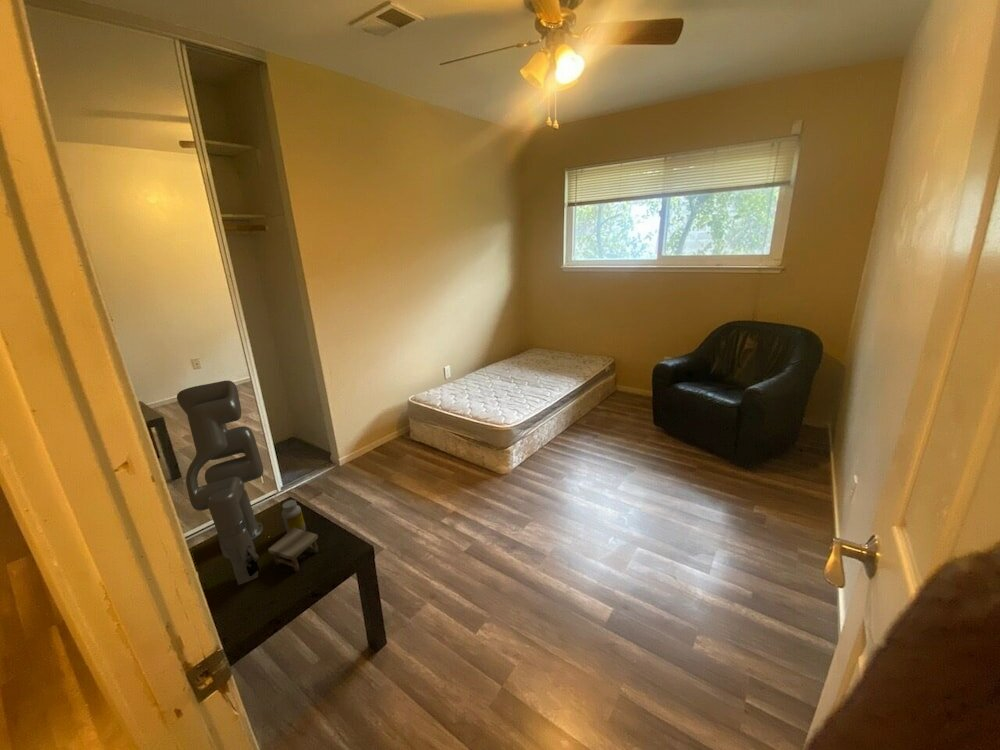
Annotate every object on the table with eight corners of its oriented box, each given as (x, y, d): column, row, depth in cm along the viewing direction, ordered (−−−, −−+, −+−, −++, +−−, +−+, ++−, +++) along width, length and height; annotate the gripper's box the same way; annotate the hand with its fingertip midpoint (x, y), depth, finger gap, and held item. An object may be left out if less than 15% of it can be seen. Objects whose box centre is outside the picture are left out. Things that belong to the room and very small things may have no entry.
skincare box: (238, 586, 131) (227, 557, 127) (237, 576, 135) (227, 548, 130) (259, 577, 134) (250, 548, 130) (258, 568, 138) (249, 540, 133)
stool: (272, 565, 139) (267, 549, 136) (298, 542, 148) (294, 527, 146) (296, 573, 135) (292, 557, 132) (321, 549, 144) (317, 534, 142)
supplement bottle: (310, 528, 156) (302, 500, 151) (295, 539, 150) (287, 511, 146) (297, 523, 158) (290, 496, 154) (283, 534, 153) (275, 507, 148)
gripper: (201, 528, 127) (217, 571, 133) (239, 541, 121) (254, 586, 127) (223, 513, 133) (238, 555, 140) (261, 524, 127) (275, 568, 134)
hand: (246, 569), depth 133 cm, fingers closed on skincare box, 6 cm apart
